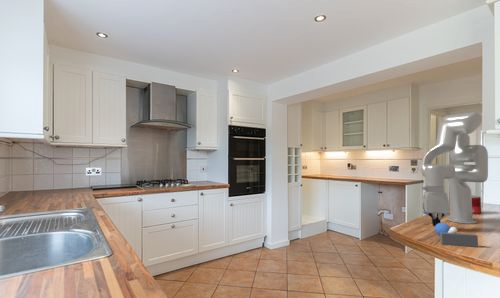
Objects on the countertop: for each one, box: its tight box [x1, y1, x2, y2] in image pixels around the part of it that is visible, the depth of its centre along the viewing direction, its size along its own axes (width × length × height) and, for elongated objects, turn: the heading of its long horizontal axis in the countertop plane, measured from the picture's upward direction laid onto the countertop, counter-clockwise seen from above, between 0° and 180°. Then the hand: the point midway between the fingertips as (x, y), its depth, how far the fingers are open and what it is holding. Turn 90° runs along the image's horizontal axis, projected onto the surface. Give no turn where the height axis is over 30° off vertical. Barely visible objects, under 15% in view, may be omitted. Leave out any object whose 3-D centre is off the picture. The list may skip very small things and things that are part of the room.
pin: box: [448, 226, 458, 233], centre depth 108 cm, size 2×2×9 cm
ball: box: [434, 222, 451, 236], centre depth 115 cm, size 6×6×6 cm
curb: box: [439, 232, 479, 248], centre depth 103 cm, size 2×12×4 cm, turn 72°
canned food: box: [471, 194, 482, 215], centre depth 161 cm, size 8×8×11 cm
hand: (436, 226), depth 125 cm, fingers closed
